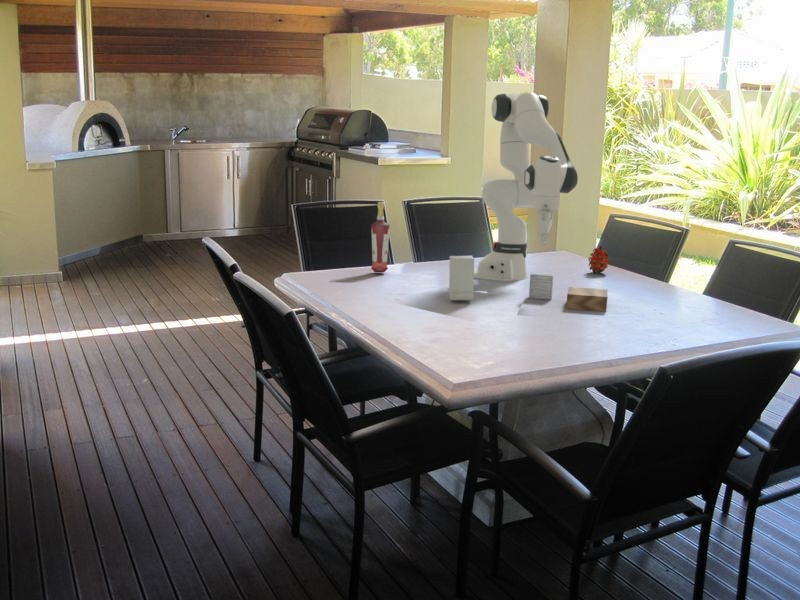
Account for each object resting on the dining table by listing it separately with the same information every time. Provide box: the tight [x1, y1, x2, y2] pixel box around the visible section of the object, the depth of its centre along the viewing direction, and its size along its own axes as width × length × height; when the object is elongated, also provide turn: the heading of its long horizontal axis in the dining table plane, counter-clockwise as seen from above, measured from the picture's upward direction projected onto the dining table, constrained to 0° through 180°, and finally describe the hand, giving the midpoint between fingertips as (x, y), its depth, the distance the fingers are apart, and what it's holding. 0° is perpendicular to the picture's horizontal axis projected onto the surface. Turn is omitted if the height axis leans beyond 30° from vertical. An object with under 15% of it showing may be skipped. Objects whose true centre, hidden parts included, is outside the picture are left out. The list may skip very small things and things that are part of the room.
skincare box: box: [448, 255, 475, 301], centre depth 293 cm, size 8×6×15 cm
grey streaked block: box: [528, 272, 554, 301], centre depth 297 cm, size 8×4×9 cm, turn 77°
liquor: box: [370, 201, 390, 273], centre depth 339 cm, size 7×7×28 cm
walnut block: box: [565, 286, 608, 312], centre depth 286 cm, size 13×13×5 cm
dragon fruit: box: [588, 245, 610, 274], centre depth 347 cm, size 8×8×12 cm
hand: (543, 243), depth 294 cm, fingers open, 4 cm apart
